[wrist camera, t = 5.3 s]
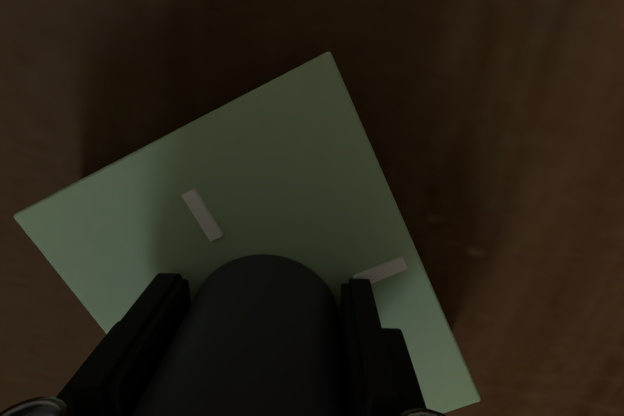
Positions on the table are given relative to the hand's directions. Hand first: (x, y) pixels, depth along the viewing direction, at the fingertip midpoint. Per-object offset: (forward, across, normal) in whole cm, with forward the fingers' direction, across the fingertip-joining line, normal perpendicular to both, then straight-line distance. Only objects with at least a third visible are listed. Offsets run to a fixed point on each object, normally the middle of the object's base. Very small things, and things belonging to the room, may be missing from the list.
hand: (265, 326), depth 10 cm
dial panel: (+3, 0, 0) cm, 3 cm away
